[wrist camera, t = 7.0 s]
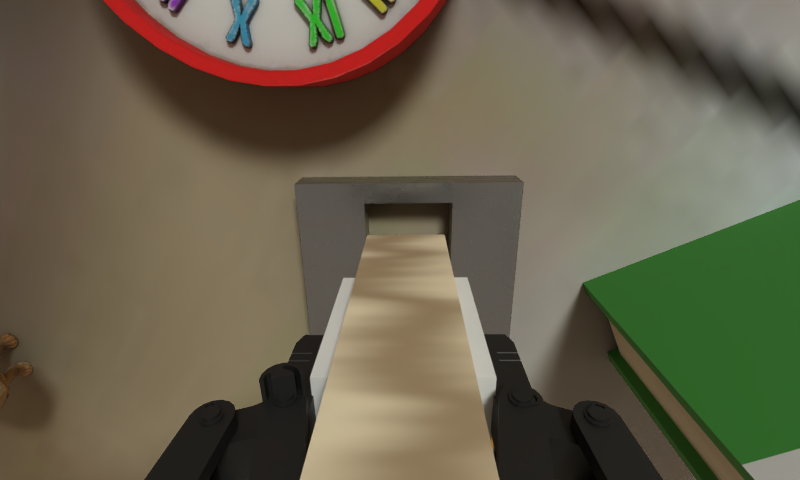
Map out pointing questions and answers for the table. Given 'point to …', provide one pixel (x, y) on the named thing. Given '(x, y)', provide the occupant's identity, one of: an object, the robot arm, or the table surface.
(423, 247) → the peg
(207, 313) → the table surface
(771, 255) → the hardback book
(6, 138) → the table surface
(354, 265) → the slotted board
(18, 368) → the lion figurine
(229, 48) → the toy clock
